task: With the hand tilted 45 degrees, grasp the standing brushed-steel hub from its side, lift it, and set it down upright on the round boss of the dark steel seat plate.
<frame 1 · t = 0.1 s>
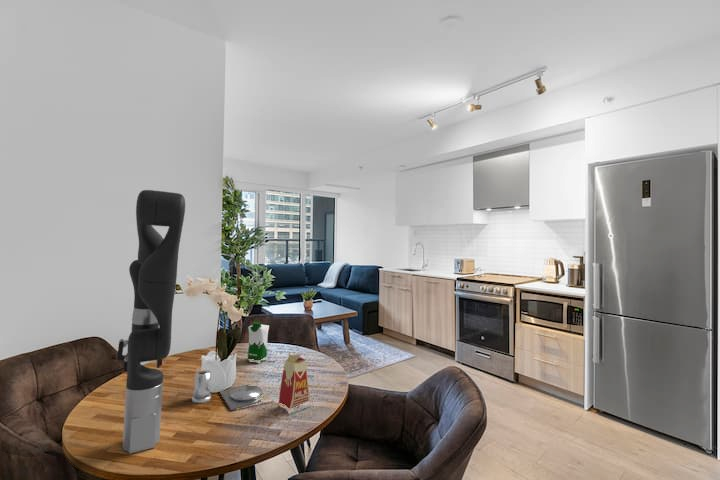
hand: (142, 369, 111), 17 cm above the table, tool pointing down, fingers open, 8 cm apart
milk carton: (293, 406, 127), on the table
soya milk: (257, 361, 174), on the table
seat: (246, 396, 132), on the table
hub: (201, 399, 129), on the table
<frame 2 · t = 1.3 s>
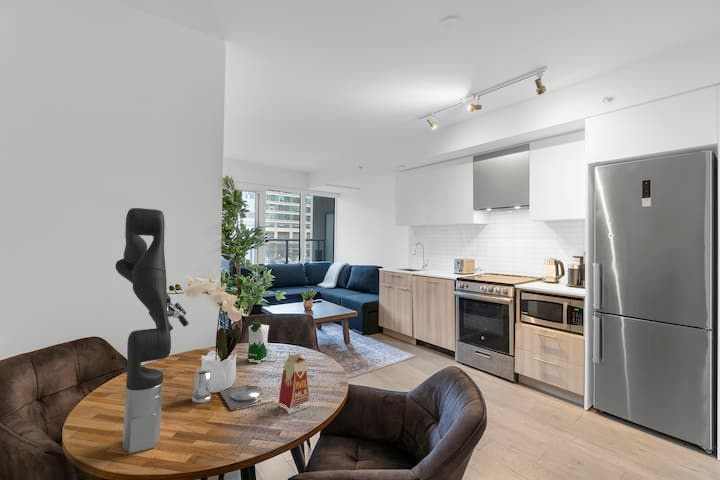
hand: (179, 327, 132), 26 cm above the table, tool tilted 45°, fingers open, 8 cm apart
nothing on the table moved.
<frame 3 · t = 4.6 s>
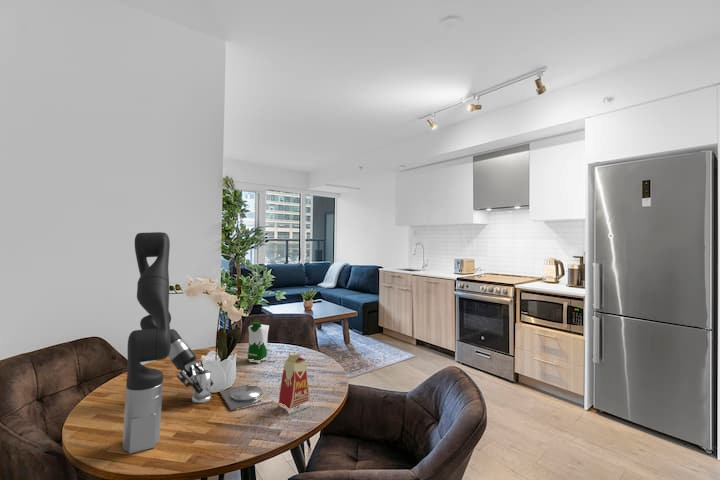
hand: (206, 388, 129), 4 cm above the table, tool tilted 45°, fingers closed on hub, 5 cm apart
hub: (201, 399, 129), on the table, touching gripper
everything else where it was.
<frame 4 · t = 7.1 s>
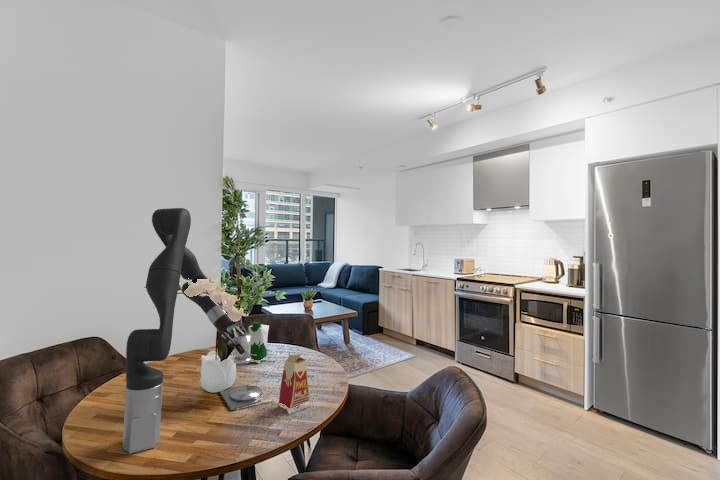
hand: (247, 350, 133), 18 cm above the table, tool tilted 45°, fingers closed on hub, 5 cm apart
hub: (242, 361, 133), point 14 cm above the table, touching gripper
everything else where it was.
when the fingers open (8 cm above the table, at t = 9.8 s): hub drops 1 cm, resting on seat.
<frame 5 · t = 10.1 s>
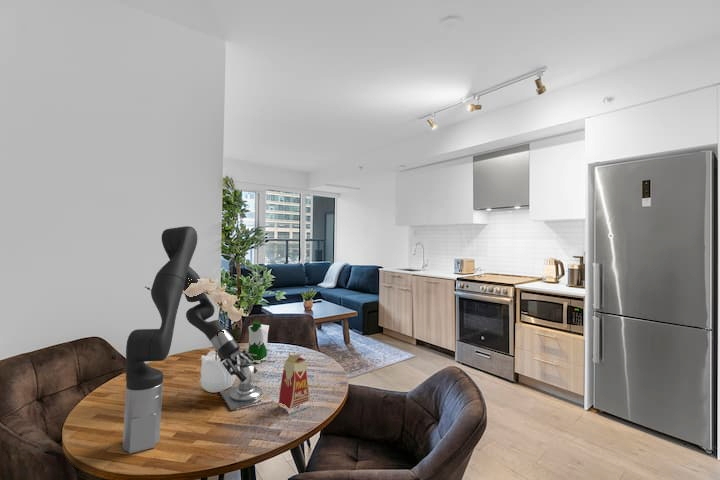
hand: (250, 376, 132), 8 cm above the table, tool tilted 45°, fingers open, 8 cm apart
hub: (245, 391, 133), point 2 cm above the table, touching seat
everything else where it was.
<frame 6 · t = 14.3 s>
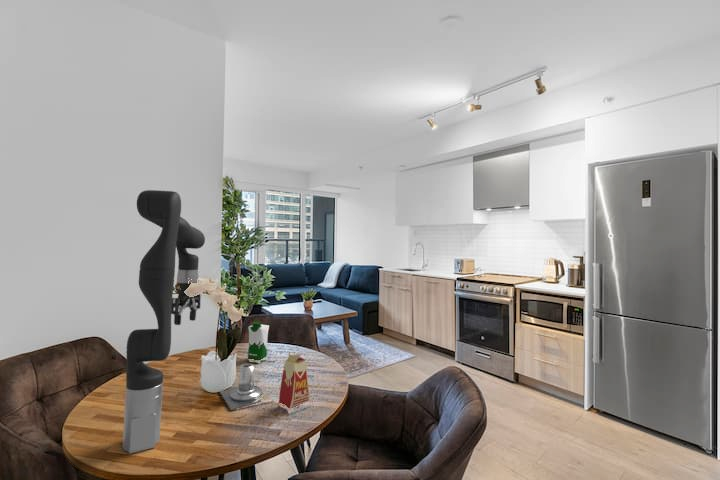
hand: (185, 322, 133), 28 cm above the table, tool pointing down, fingers open, 8 cm apart
nothing on the table moved.
at the end: hub inside the target area on the seat (0.2 cm from its centre), point 2.0 cm above the seat's base; hub tilted 1°; the gripper is holding nothing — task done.
